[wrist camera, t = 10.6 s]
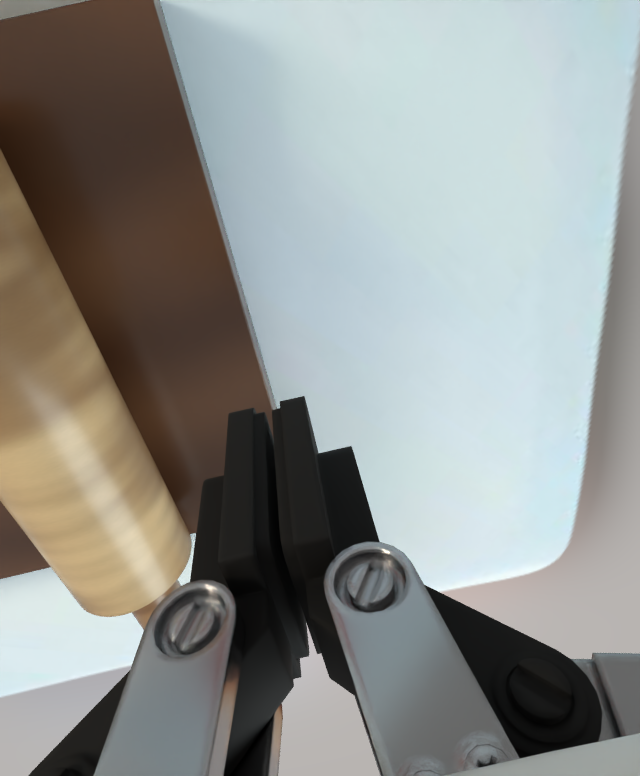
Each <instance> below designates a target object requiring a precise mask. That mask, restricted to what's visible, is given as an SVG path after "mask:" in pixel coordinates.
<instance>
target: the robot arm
mask: <svg viewBox="0 0 640 776" xmlns="http://www.w3.org/2000/svg"><path fill="white" fill-rule="evenodd" d="M272 422H273V436H272V432H271V429H270V426H269V422H268V419H267V416H266V413H265V412H261V413H256V411H255V409H254V408H249V409H245V410H241V411H236V412H232V413H229V415H228V426H227V440H226V454H225V467H224V475H222V476H218V477H213V478H209V479H205V481H204V482H203V486H202V493H201V500H200V508H199V516H198V524H197V532H196V540H195V548H194V556H193V563H192V571H191V579H190V583H187V584H185V585H183V586H181V587H179V588H177V589H175V590H173V591H172V592H171V593H170V594H168V595H167V596H166V597H165V598H163V599H162V600H161V602H160V603H159V604H158V605H157V607H156V608H155V609H154V610H153V612H152V614H151V616H150V618H149V620H148V622H147V624H146V626H145V629H144V632H143V635H142V638H141V641H140V644H139V647H138V649H137V652H136V655H135V658H134V661H133V664H132V667H131V670H130V671H129V672H128V673H127V674H126V675H125V676H124V677H123V678H122V679H121V681H119V682H118V683H117V684H116V685H115V686H114V688H113V689H112V690H111V691H110V692H109V693H108V694H107V695H106V696H105V697H104V698H103V699H102V700H101V701H100V702H99V703H98V704H97V705H96V706H95V707H94V708H93V709H92V710H91V711H90V712H89V713H88V714H87V715H86V716H85V718H83V719H82V720H81V722H79V724H78V725H77V726H76V727H75V728H74V729H73V730H72V731H71V732H70V733H69V734H68V735H67V736H66V737H65V738H64V739H63V740H62V741H61V742H60V743H59V744H58V745H57V746H56V747H55V748H54V749H53V751H51V752H50V754H49V755H48V756H47V757H46V758H45V759H44V760H43V761H42V762H41V763H40V764H39V765H38V766H37V767H36V768H35V769H34V770H33V771H32V772H31V773H30V775H29V776H278V769H279V757H280V745H281V732H282V720H283V715H282V704H281V703H282V702H283V700H284V699H285V698H286V696H287V695H288V693H289V692H290V691H291V689H292V688H293V686H294V684H293V679H295V678H299V677H301V669H300V658H303V657H307V656H309V645H308V636H307V626H306V622H307V625H308V628H309V631H310V634H311V637H312V640H313V643H314V646H315V649H316V651H317V654H320V653H322V656H323V659H324V662H325V665H326V668H327V671H328V674H329V677H330V678H331V679H332V680H333V681H335V682H336V683H338V684H339V685H340V686H342V687H343V688H345V689H346V690H348V691H349V692H350V693H352V694H353V695H355V699H356V702H357V705H358V708H359V711H360V714H361V717H362V720H363V723H364V727H365V729H366V733H367V736H368V739H369V742H370V745H371V748H372V751H373V754H374V757H375V760H376V764H377V767H378V770H379V773H380V776H640V654H632V653H631V654H630V653H628V654H627V653H624V654H623V653H593V654H592V659H570V658H568V657H566V656H565V655H563V654H562V653H560V652H559V651H557V650H555V649H553V648H551V647H549V646H547V645H545V644H543V643H541V642H539V641H537V640H535V639H533V638H531V637H529V636H527V635H525V634H523V633H521V632H519V631H517V630H515V629H513V628H511V627H509V626H507V625H504V624H502V623H501V622H499V621H497V620H494V619H492V618H490V617H488V616H486V615H484V614H482V613H480V612H478V611H476V610H474V609H472V608H470V607H468V606H466V605H464V604H462V603H460V602H458V601H456V600H454V599H452V598H450V597H448V596H446V595H444V594H442V593H440V592H438V591H436V590H434V589H431V588H429V587H427V586H425V585H424V584H423V582H422V580H421V579H420V577H419V575H418V573H417V571H416V569H415V568H414V566H413V564H412V563H411V561H410V560H409V559H408V557H407V556H406V555H405V554H404V553H403V552H402V551H400V550H398V549H397V548H395V547H394V546H391V545H388V544H385V543H382V542H379V539H378V535H377V532H376V528H375V525H374V522H373V518H372V515H371V511H370V508H369V504H368V501H367V498H366V494H365V491H364V487H363V484H362V480H361V477H360V473H359V470H358V467H357V463H356V460H355V456H354V453H353V450H352V447H351V446H350V447H345V448H341V449H336V450H332V451H328V452H323V453H319V454H318V450H317V446H316V441H315V437H314V433H313V429H312V425H311V421H310V417H309V413H308V409H307V405H306V401H305V397H304V396H302V397H298V398H294V399H289V400H285V401H280V408H279V409H275V410H272ZM273 437H274V439H273Z"/></svg>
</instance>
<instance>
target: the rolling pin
mask: <svg viewBox="0 0 640 776" xmlns="http://www.w3.org/2000/svg"><path fill="white" fill-rule="evenodd" d="M0 501H1V502H2V504H3V505H4V506H5V508H6V509H7V510H8V512H9V513H10V514H11V515H12V517H13V518H14V519H15V521H16V522H17V523H18V525H19V526H20V527H21V529H22V530H23V531H24V532H25V534H26V535H27V536H28V538H29V539H30V540H31V542H32V543H33V544H34V546H35V547H36V548H37V549H38V551H39V552H40V553H41V555H42V556H43V557H44V559H45V560H46V561H47V563H48V564H49V565H50V566H51V568H52V569H53V570H54V572H55V573H56V574H57V576H58V577H59V578H60V580H61V581H62V582H63V583H64V585H65V586H66V587H67V589H68V590H69V591H70V593H71V594H72V595H73V597H74V598H75V599H76V600H77V602H78V603H79V604H80V606H81V607H82V608H83V609H84V610H86V611H87V612H89V613H91V614H94V615H98V616H104V617H112V616H120V615H124V614H128V613H131V612H132V613H133V615H134V616H135V618H136V619H137V621H138V622H139V623H140V625H141V626H142V628H143V629H145V626H146V624H147V622H148V620H149V618H150V616H151V614H152V612H153V610H154V609H155V608H156V607H157V605H158V604H159V603H160V602H161V600H162V599H163V598H165V597H166V596H167V595H168V594H170V593H171V592H172V591H173V590H175V589H177V588H179V587H181V585H180V583H179V581H178V580H177V579H178V578H179V576H180V575H181V574H182V572H183V570H184V569H185V567H186V565H187V562H188V560H189V557H190V553H191V536H190V533H189V531H188V529H187V527H186V525H185V523H184V521H183V519H182V517H181V515H180V513H179V511H178V509H177V507H176V505H175V503H174V501H173V499H172V497H171V494H170V492H169V490H168V488H167V486H166V484H165V482H164V480H163V478H162V476H161V474H160V472H159V470H158V468H157V466H156V464H155V462H154V460H153V458H152V456H151V454H150V452H149V450H148V448H147V446H146V444H145V442H144V440H143V438H142V436H141V433H140V431H139V429H138V427H137V425H136V423H135V421H134V419H133V417H132V415H131V413H130V411H129V409H128V407H127V405H126V403H125V401H124V399H123V397H122V395H121V393H120V391H119V389H118V387H117V385H116V383H115V381H114V379H113V377H112V375H111V373H110V370H109V368H108V366H107V364H106V362H105V360H104V358H103V356H102V354H101V352H100V350H99V348H98V346H97V344H96V342H95V340H94V338H93V336H92V334H91V332H90V330H89V328H88V326H87V324H86V322H85V320H84V318H83V316H82V314H81V312H80V309H79V307H78V305H77V303H76V301H75V299H74V297H73V295H72V293H71V291H70V289H69V287H68V285H67V283H66V281H65V279H64V277H63V275H62V273H61V271H60V269H59V267H58V265H57V263H56V261H55V259H54V257H53V255H52V253H51V251H50V249H49V246H48V244H47V242H46V240H45V238H44V236H43V234H42V232H41V230H40V228H39V226H38V224H37V222H36V220H35V218H34V216H33V214H32V212H31V210H30V208H29V206H28V204H27V202H26V200H25V198H24V196H23V194H22V192H21V190H20V188H19V185H18V183H17V181H16V179H15V177H14V175H13V173H12V171H11V169H10V167H9V165H8V163H7V161H6V159H5V157H4V155H3V153H2V151H1V149H0Z"/></svg>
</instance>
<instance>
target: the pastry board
mask: <svg viewBox="0 0 640 776" xmlns="http://www.w3.org/2000/svg"><path fill="white" fill-rule="evenodd" d="M0 149H1V151H2V153H3V155H4V157H5V159H6V161H7V163H8V165H9V167H10V169H11V171H12V173H13V175H14V177H15V179H16V181H17V183H18V185H19V188H20V190H21V192H22V194H23V196H24V198H25V200H26V202H27V204H28V206H29V208H30V210H31V212H32V214H33V216H34V218H35V220H36V222H37V224H38V226H39V228H40V230H41V232H42V234H43V236H44V238H45V240H46V242H47V244H48V246H49V249H50V251H51V253H52V255H53V257H54V259H55V261H56V263H57V265H58V267H59V269H60V271H61V273H62V275H63V277H64V279H65V281H66V283H67V285H68V287H69V289H70V291H71V293H72V295H73V297H74V299H75V301H76V303H77V305H78V307H79V309H80V312H81V314H82V316H83V318H84V320H85V322H86V324H87V326H88V328H89V330H90V332H91V334H92V336H93V338H94V340H95V342H96V344H97V346H98V348H99V350H100V352H101V354H102V356H103V358H104V360H105V362H106V364H107V366H108V368H109V370H110V373H111V375H112V377H113V379H114V381H115V383H116V385H117V387H118V389H119V391H120V393H121V395H122V397H123V399H124V401H125V403H126V405H127V407H128V409H129V411H130V413H131V415H132V417H133V419H134V421H135V423H136V425H137V427H138V429H139V431H140V433H141V436H142V438H143V440H144V442H145V444H146V446H147V448H148V450H149V452H150V454H151V456H152V458H153V460H154V462H155V464H156V466H157V468H158V470H159V472H160V474H161V476H162V478H163V480H164V482H165V484H166V486H167V488H168V490H169V492H170V494H171V497H172V499H173V501H174V503H175V505H176V507H177V509H178V511H179V513H180V515H181V517H182V519H183V521H184V523H185V525H186V527H187V529H188V531H189V533H190V534H192V533H196V532H197V524H198V516H199V508H200V500H201V493H202V486H203V482H204V481H205V479H209V478H213V477H218V476H222V475H224V467H225V454H226V440H227V426H228V415H229V413H232V412H236V411H241V410H245V409H249V408H254V409H255V411H256V413H261V412H265V413H266V416H267V419H268V422H269V426H270V429H271V432H272V436H273V422H272V410H275V409H277V407H276V404H275V400H274V397H273V393H272V390H271V386H270V383H269V379H268V376H267V372H266V369H265V365H264V362H263V358H262V355H261V351H260V348H259V345H258V341H257V338H256V334H255V331H254V327H253V324H252V320H251V317H250V313H249V310H248V306H247V303H246V299H245V296H244V292H243V289H242V285H241V282H240V278H239V275H238V272H237V268H236V265H235V261H234V258H233V254H232V251H231V247H230V244H229V240H228V237H227V233H226V230H225V226H224V223H223V219H222V216H221V212H220V209H219V205H218V202H217V199H216V195H215V192H214V188H213V185H212V181H211V178H210V174H209V171H208V167H207V164H206V160H205V157H204V153H203V150H202V146H201V143H200V139H199V136H198V133H197V129H196V126H195V122H194V119H193V115H192V112H191V108H190V105H189V101H188V98H187V94H186V91H185V87H184V84H183V80H182V77H181V73H180V70H179V66H178V63H177V60H176V56H175V53H174V49H173V46H172V42H171V39H170V35H169V32H168V28H167V25H166V21H165V18H164V14H163V11H162V7H161V4H160V0H89V1H85V2H80V3H76V4H71V5H66V6H62V7H57V8H53V9H48V10H43V11H39V12H34V13H30V14H25V15H20V16H16V17H11V18H7V19H2V20H0ZM273 439H274V437H273ZM49 567H51V566H50V565H49V564H48V563H47V561H46V560H45V559H44V557H43V556H42V555H41V553H40V552H39V551H38V549H37V548H36V547H35V546H34V544H33V543H32V542H31V540H30V539H29V538H28V536H27V535H26V534H25V532H24V531H23V530H22V529H21V527H20V526H19V525H18V523H17V522H16V521H15V519H14V518H13V517H12V515H11V514H10V513H9V512H8V510H7V509H6V508H5V506H4V505H3V504H2V502H1V501H0V579H3V578H7V577H11V576H15V575H20V574H24V573H28V572H32V571H36V570H41V569H45V568H49Z"/></svg>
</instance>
